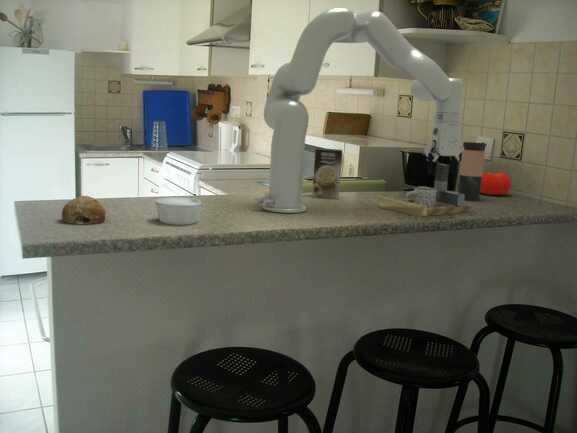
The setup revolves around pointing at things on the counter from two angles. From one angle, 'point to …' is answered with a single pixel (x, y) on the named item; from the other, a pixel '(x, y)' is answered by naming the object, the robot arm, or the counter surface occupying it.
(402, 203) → the wooden tray
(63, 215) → the bread roll
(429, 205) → the mug
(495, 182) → the tomato
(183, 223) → the ramekin
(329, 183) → the coffee box
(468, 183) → the travel mug
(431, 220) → the counter surface
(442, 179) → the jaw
